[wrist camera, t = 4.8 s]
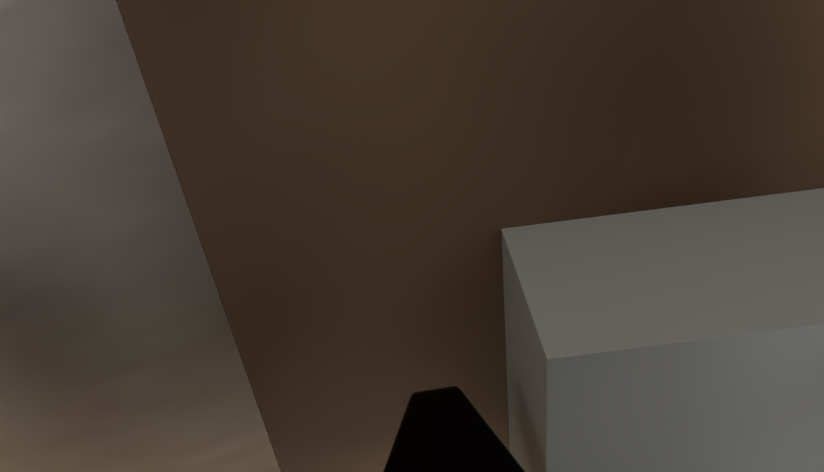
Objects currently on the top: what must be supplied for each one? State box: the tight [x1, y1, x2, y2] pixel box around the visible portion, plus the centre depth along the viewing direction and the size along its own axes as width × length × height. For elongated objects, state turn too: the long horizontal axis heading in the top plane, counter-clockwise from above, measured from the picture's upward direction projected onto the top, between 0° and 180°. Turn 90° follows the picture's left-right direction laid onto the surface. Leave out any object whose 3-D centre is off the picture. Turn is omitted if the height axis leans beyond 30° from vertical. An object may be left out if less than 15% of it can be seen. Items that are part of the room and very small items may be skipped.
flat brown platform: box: [116, 0, 824, 472], centre depth 11 cm, size 11×16×2 cm
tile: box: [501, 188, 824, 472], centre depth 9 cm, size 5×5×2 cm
